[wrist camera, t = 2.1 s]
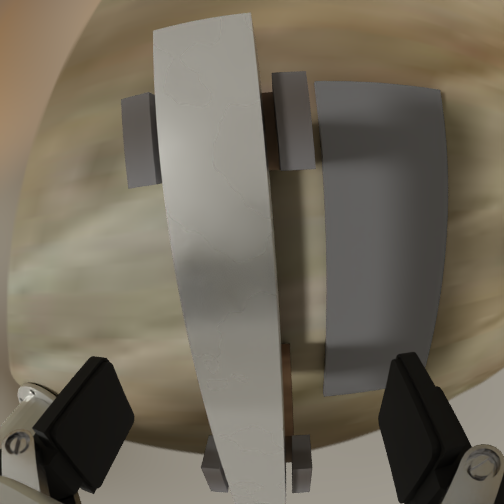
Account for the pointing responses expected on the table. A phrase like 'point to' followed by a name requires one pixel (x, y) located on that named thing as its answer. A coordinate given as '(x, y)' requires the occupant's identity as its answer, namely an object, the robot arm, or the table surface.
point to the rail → (224, 241)
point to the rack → (279, 158)
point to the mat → (381, 226)
